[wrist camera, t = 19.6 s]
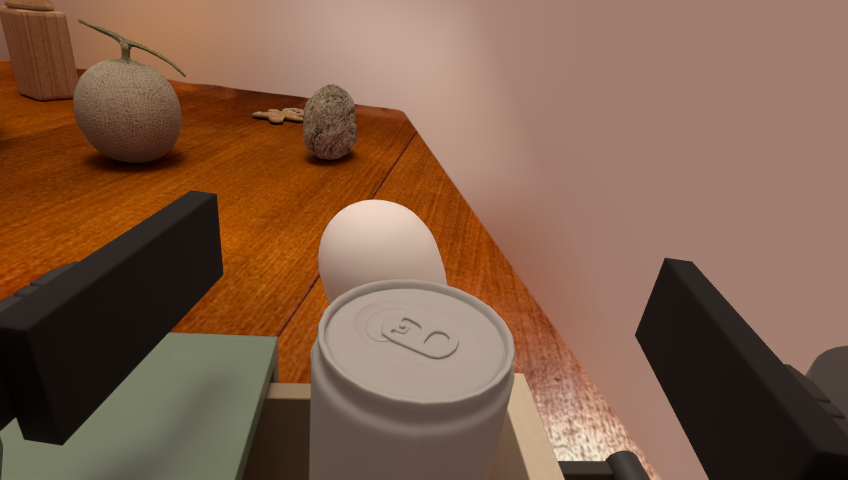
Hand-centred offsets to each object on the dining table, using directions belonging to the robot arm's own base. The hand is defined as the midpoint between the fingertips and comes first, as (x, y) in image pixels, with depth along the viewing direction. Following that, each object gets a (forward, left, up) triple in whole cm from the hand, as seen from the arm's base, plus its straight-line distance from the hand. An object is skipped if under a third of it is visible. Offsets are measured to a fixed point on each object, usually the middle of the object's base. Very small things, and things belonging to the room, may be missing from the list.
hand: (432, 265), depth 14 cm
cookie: (+17, -76, -14) cm, 79 cm away
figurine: (0, -9, -14) cm, 17 cm away
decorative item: (+55, -75, -14) cm, 94 cm away
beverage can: (+1, +3, -12) cm, 13 cm away
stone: (+7, -55, -14) cm, 57 cm away
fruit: (+29, -47, -14) cm, 57 cm away
